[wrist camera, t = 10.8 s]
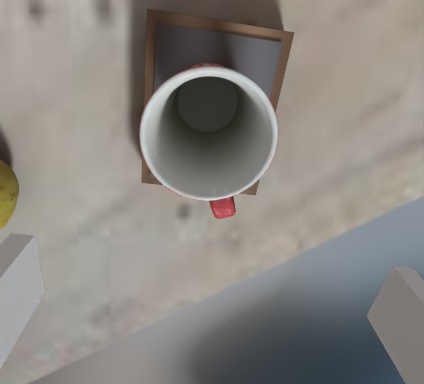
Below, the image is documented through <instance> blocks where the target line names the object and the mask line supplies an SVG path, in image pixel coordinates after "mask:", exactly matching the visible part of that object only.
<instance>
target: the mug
mask: <svg viewBox="0 0 424 384" xmlns="http://www.w3.org/2000/svg"><path fill="white" fill-rule="evenodd" d="M139 142H140V148H141V152H142V155H143V158H144V160H145V162H146V165H147V166H148V168H149V170H150V171H151V172H152V174H153V175H154V176H155V178H156V179H157V180H158V181H159V182H160V183H162V184H163V185H164V186H165V187H166V188H168V189H169V190H171V191H173V192H175V193H176V194H179V195H181V196H184V197H187V198H190V199H195V200H205V201H209V202H210V206H211V209H212V212H213V214H214V216H215V218H221V219H222V218H226V217H230V216H233V215H234V214H235V212H236V210H235V204H234V198H233V196H234V195H236V194H238V193H240V192H242V191H244V190H246V189H247V188H249V187H250V186H252V185H253V184H254V183H255V182H257V181H258V179H259V178H260V177H261V176H262V175H263V174H264V173H265V171H266V170H267V168H268V167H269V165H270V163H271V161H272V159H273V157H274V154H275V151H276V148H277V142H278V121H277V117H276V113H275V110H274V108H273V105H272V103H271V101H270V99H269V98H268V96H267V95H266V93H265V92H264V91H263V89H262V88H261V87H260V86H259V85H258V84H257V83H256V82H255V81H253V80H252V79H251V78H249V77H247V76H246V75H244V74H242V73H240V72H238V71H235V70H232V69H229V68H225V67H223V66H221V65H218V64H215V63H200V64H196V65H193V66H191V67H189V68H188V69H186V70H184V71H182V72H179V73H177V74H175V75H174V76H172V77H170V78H169V79H167V80H166V81H165V82H164V83H163V84H161V85H160V86H159V87H158V88H157V89H156V90H155V92H154V93H153V94H152V95H151V97H150V98H149V100H148V101H147V104H146V106H145V108H144V110H143V113H142V116H141V120H140V126H139Z"/></svg>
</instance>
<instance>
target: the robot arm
mask: <svg viewBox="0 0 424 384" xmlns="http://www.w3.org/2000/svg"><path fill="white" fill-rule="evenodd" d="M43 295H44V288H43V283H42V277H41V271H40V265H39V259H38V254H37V248H36V242H35V236H34V235H22V234H10V235H9V236H8V237H7V238H6V239H5V240H4V241H3V242H2V243H1V245H0V368H1V367H2V365H3V363H4V361H5V360H6V358H7V356H8V355H9V353H10V351H11V349H12V348H13V346H14V344H15V343H16V341H17V339H18V338H19V336H20V334H21V332H22V331H23V329H24V327H25V326H26V324H27V322H28V321H29V319H30V317H31V315H32V314H33V312H34V310H35V309H36V307H37V305H38V303H39V302H40V300H41V298H42V297H43ZM367 318H368V319H369V321H370V323H371V324H372V326H373V328H374V330H375V331H376V333H377V335H378V336H379V338H380V340H381V342H382V343H383V345H384V347H385V349H386V350H387V352H388V354H389V356H390V357H391V359H392V361H393V362H394V364H395V366H396V368H397V369H398V371H399V373H400V375H401V376H402V378H403V380H404V381H405V383H406V384H424V281H423V280H422V279H421V278H420V277H419V275H418V274H417V273H416V272H415V271H414V270H413V269H412V268H401V267H394V268H393V269H392V271H391V273H390V275H389V277H388V278H387V280H386V282H385V284H384V285H383V288H382V289H381V291H380V293H379V294H378V296H377V298H376V300H375V302H374V303H373V305H372V307H371V309H370V311H369V312H368V314H367Z"/></svg>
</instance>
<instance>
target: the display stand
mask: <svg viewBox="0 0 424 384" xmlns="http://www.w3.org/2000/svg"><path fill="white" fill-rule="evenodd" d="M293 36H294V32H288V31H282V30H275V29H269V28H263V27H257V26H251V25H244V24H238V23H232V22H226V21H220V20H214V19H207V18H201V17H195V16H189V15H183V14H176V13H170V12H164V11H158V10H152V9H147V27H146V58H145V90H144V108H145V106H146V104H147V101H148V100H149V98H150V97H151V95H152V94H153V93H154V92H155V90H156V89H157V88H158V87H159V86H160V85H161V84H163V83H164V82H165V81H166V80H167V79H169V78H170V77H172V76H174V75H175V74H177V73H179V72H182V71H184V70H186V69H188V68H189V67H191V66H193V65H196V64H200V63H215V64H218V65H221V66H223V67H225V68H229V69H232V70H235V71H238V72H240V73H242V74H244V75H246V76H247V77H249V78H251V79H252V80H253V81H255V82H256V83H257V84H258V85H259V86H260V87H261V88H262V89H263V91H264V92H265V93H266V95H267V96H268V98H269V99H270V101H271V103H272V105H273V108H274V110H275V112H276V108H277V103H278V99H279V95H280V91H281V87H282V82H283V78H284V74H285V70H286V66H287V61H288V57H289V53H290V49H291V45H292V40H293ZM259 179H260V178H259ZM259 179H258V181H257V182H255V183H254V184H253V185H252V186H250V187H249V188H247V189H246V190H244V191H242V192H240V194H250V195H256V192H257V187H258V183H259ZM142 183H149V184H158V185H163V184H162V183H160V182H159V181H158V180H157V179H156V178H155V176H154V175H153V174H152V172H151V171H150V170H149V168H148V166H147V165H146V162H145V160H144V158H143V155H142Z"/></svg>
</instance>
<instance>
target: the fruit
mask: <svg viewBox="0 0 424 384" xmlns="http://www.w3.org/2000/svg"><path fill="white" fill-rule="evenodd" d="M18 193H19V185H18V180H17V178H16V175H15V174H14V172H13V170H12V169H11V168H10V167H9V166H8V165H7V164H6V163H5V162H3V161H2V160H1V159H0V229H1V228H2V227H3V226H5V225H6V223H7V222H8V221H9V219H10V218H11V216H12V214H13V212H14V209H15V206H16V202H17V198H18Z"/></svg>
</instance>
